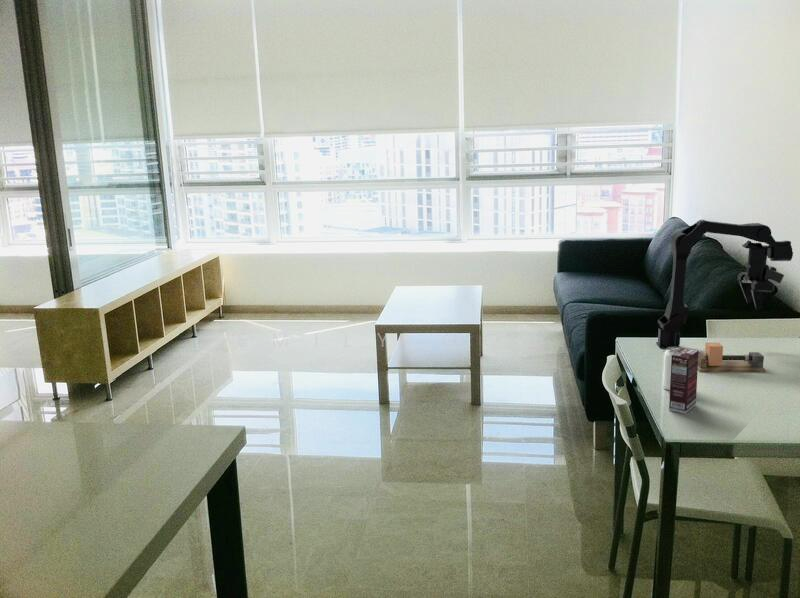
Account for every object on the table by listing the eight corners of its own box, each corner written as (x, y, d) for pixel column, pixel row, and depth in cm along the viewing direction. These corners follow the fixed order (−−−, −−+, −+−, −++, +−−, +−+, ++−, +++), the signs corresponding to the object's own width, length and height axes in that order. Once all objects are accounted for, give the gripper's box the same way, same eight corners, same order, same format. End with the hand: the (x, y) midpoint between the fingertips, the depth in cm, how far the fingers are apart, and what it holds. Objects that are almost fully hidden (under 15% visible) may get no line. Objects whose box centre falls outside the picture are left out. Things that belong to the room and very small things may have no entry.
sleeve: (708, 365, 237) (709, 346, 236) (704, 361, 241) (705, 342, 240) (721, 365, 237) (723, 346, 235) (717, 361, 241) (718, 342, 239)
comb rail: (699, 371, 235) (700, 358, 234) (690, 363, 244) (691, 350, 243) (765, 372, 233) (766, 358, 232) (754, 363, 242) (756, 350, 241)
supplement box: (678, 401, 211) (682, 347, 207) (696, 405, 208) (700, 350, 204) (667, 410, 204) (670, 354, 201) (685, 414, 201) (689, 357, 198)
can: (682, 384, 224) (685, 346, 222) (688, 392, 218) (691, 352, 215) (660, 384, 225) (662, 346, 222) (665, 392, 219) (667, 352, 216)
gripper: (793, 266, 244) (788, 312, 247) (772, 256, 262) (768, 300, 265) (756, 266, 245) (752, 312, 248) (738, 256, 263) (735, 299, 266)
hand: (753, 306), depth 257 cm, fingers open, 9 cm apart
